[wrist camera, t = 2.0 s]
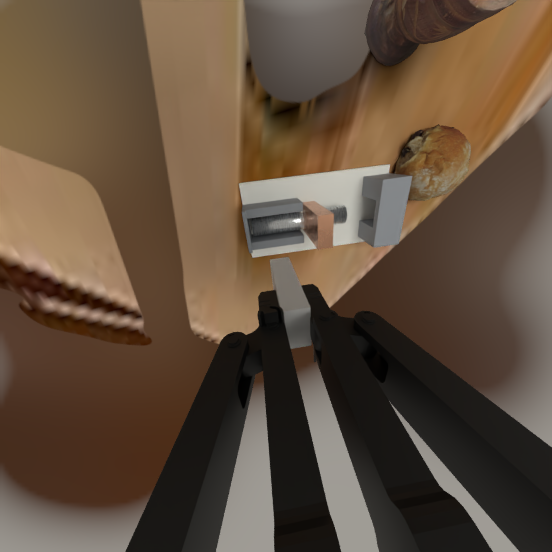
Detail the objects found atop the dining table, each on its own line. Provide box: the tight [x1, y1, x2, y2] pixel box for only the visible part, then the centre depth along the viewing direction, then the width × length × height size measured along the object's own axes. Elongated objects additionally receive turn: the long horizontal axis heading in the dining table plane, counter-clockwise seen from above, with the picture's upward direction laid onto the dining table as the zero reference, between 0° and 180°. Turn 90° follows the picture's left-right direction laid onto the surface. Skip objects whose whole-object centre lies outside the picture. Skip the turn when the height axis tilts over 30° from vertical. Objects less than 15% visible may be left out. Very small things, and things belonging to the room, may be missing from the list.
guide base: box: [239, 164, 412, 258], centre depth 32 cm, size 12×23×6 cm, turn 96°
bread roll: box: [394, 124, 471, 201], centre depth 31 cm, size 10×10×8 cm
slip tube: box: [251, 201, 347, 250], centre depth 30 cm, size 4×14×9 cm, turn 96°
